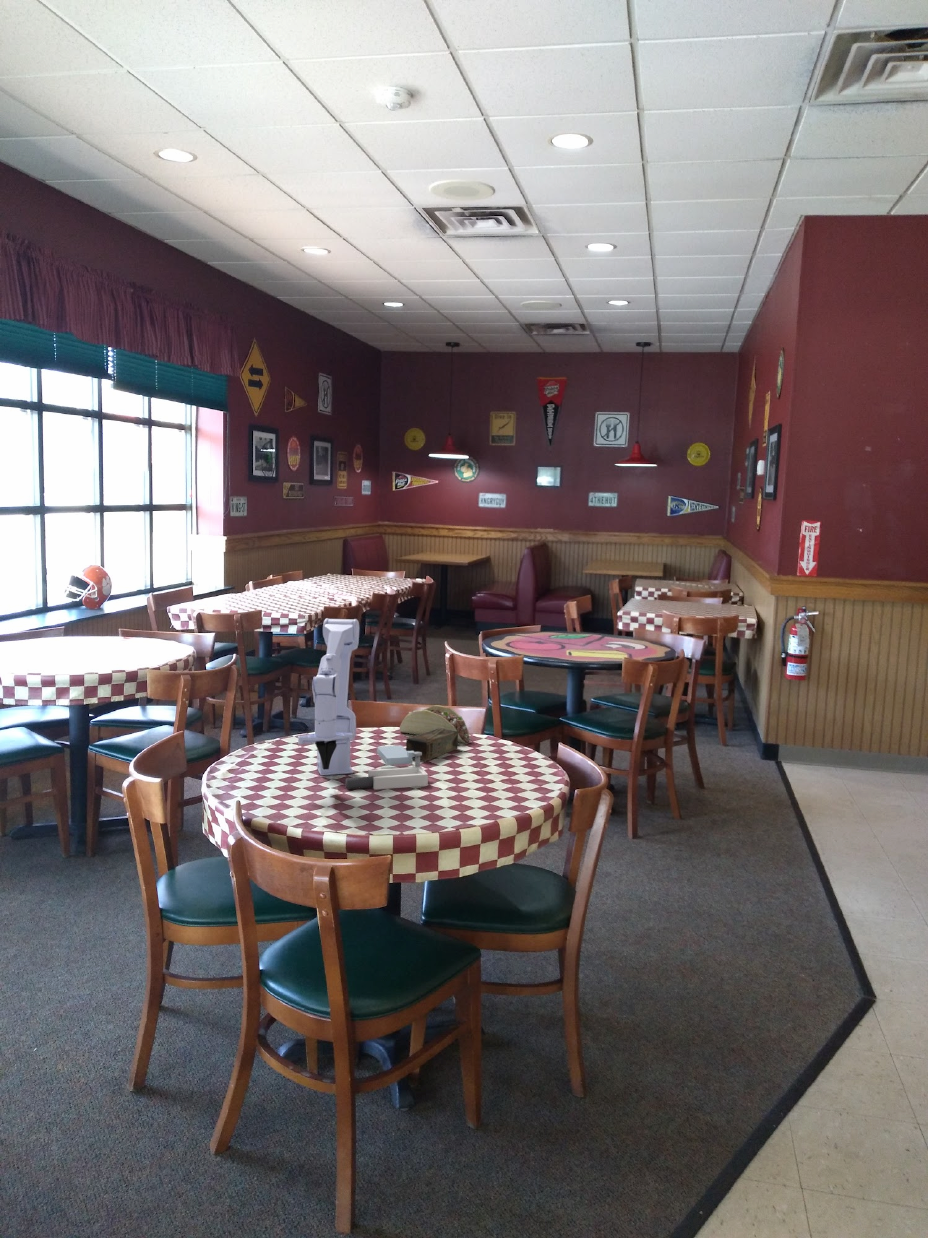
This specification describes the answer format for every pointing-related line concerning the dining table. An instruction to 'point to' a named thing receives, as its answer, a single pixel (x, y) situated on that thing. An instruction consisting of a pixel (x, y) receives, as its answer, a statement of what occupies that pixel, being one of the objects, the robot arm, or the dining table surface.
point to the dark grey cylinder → (359, 782)
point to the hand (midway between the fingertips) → (325, 768)
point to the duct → (399, 777)
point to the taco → (435, 722)
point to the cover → (396, 755)
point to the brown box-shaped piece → (433, 743)
